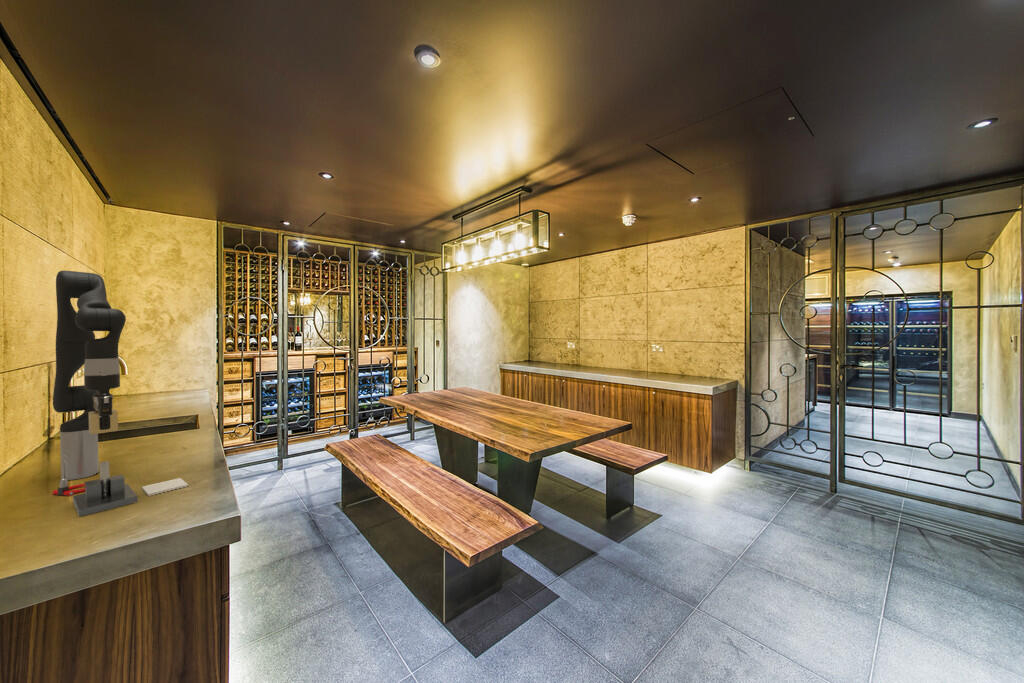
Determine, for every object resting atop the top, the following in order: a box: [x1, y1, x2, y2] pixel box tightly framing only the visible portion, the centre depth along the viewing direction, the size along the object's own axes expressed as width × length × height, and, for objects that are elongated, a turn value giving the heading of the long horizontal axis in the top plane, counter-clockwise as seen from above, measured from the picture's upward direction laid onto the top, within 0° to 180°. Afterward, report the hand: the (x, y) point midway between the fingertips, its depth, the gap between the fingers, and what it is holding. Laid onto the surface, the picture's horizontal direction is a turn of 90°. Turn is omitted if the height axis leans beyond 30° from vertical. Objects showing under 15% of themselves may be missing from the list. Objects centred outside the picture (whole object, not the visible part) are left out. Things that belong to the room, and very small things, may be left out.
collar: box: [89, 408, 119, 434], centre depth 119 cm, size 6×6×6 cm
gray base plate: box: [72, 460, 138, 518], centre depth 119 cm, size 16×12×12 cm
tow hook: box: [51, 455, 85, 497], centre depth 129 cm, size 8×13×9 cm
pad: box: [141, 477, 189, 497], centre depth 130 cm, size 10×10×1 cm
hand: (103, 427), depth 119 cm, fingers closed on collar, 5 cm apart
